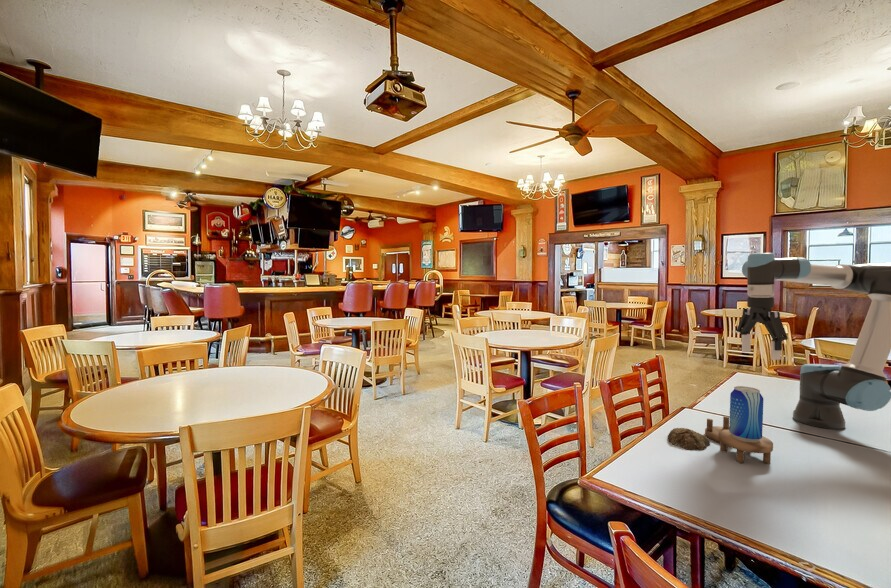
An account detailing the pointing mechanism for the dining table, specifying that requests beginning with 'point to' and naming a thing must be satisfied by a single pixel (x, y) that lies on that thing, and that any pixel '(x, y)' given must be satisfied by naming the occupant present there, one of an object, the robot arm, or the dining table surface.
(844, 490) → the dining table surface
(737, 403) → the beer can
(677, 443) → the bread roll
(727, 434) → the footstool
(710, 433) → the upturned footstool
